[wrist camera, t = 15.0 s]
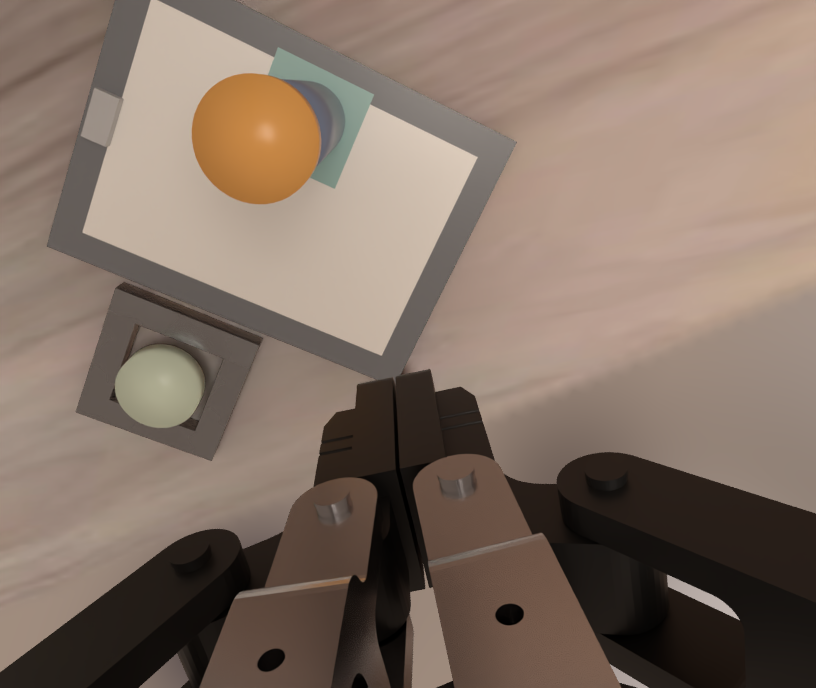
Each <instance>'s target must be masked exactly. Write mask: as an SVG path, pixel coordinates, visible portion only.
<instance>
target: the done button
mask: <svg viewBox="0 0 816 688" xmlns="http://www.w3.org/2000/svg"><path fill="white" fill-rule="evenodd" d="M204 391H205V377H204V373H203V371H202V369H201V367H200V365H199V364H198V362H197V361H196V360H195V359H194V358H193V357H192V356H191V355H190V354H189V353H187V352H186V351H184V350H182V349H180V348H178V347H175V346H172V345H167V344H154V345H149V346H146V347H144V348H141V349H140V350H138V351H137V352H136V353H134V354H133V355H132V356H131V357H130V359H129V360H128V361H127V362H126V363H125V364H124V365H123V366H122V367H121V369H120V370H119V372H118V374H117V377H116V380H115V393H116V397H117V400H118V402H119V404H120V406H121V407H122V408H123V410H124V411H125V412H126V413H127V414H128V415H129V416H130V417H131V418H133V419H134V420H136V421H137V422H139V423H141V424H144V425H146V426H150V427H155V428H168V427H173V426H177V425H179V424H181V423H183V422H184V421H186V420H187V419H188V418H189V417H190V416H191V415H192V414H193V413H194V411H195V409H196V408H197V406H198V404H199V402H200V401H201V399H202V397H203V394H204Z"/></svg>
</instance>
